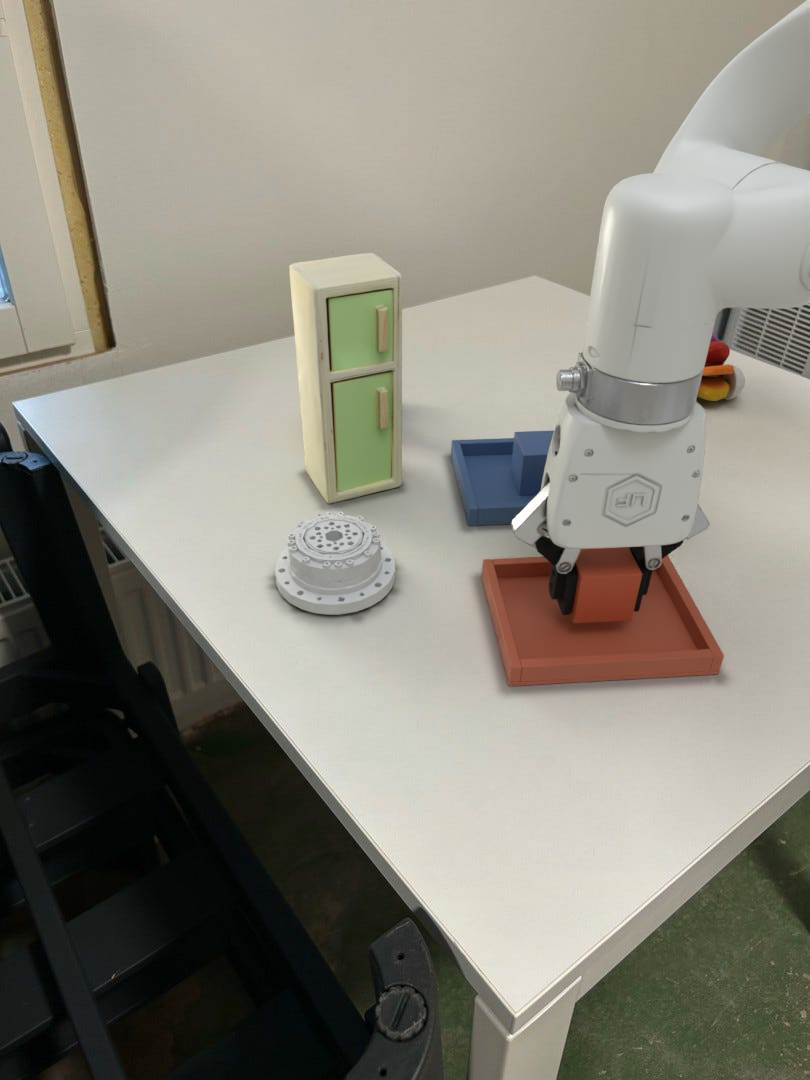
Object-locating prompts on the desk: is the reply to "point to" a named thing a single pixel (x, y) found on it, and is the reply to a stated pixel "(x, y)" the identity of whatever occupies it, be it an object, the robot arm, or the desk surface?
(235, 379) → the desk surface
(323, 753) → the desk surface
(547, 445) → the blue block
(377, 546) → the mechanical component
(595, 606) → the terracotta block
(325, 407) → the toy refrigerator
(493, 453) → the blue tray
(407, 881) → the desk surface
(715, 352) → the rainbow petal toy
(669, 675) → the terracotta tray
